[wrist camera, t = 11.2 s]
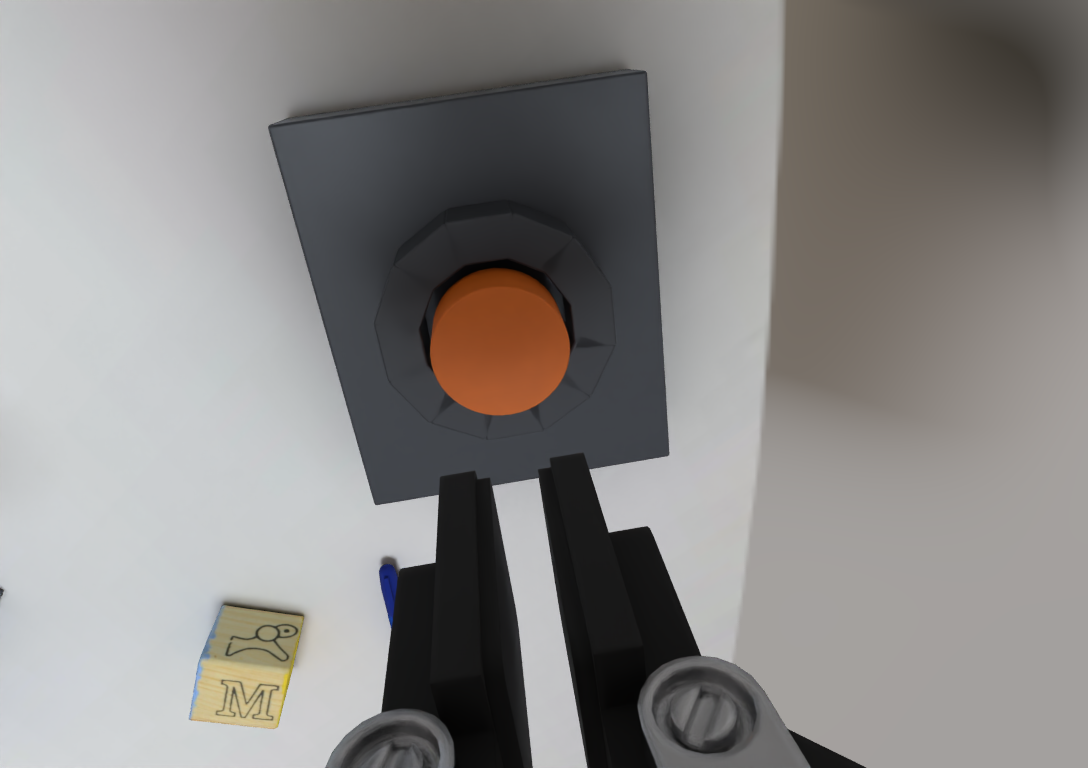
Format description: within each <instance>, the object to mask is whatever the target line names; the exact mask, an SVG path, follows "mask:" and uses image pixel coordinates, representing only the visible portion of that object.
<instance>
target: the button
mask: <svg viewBox="0 0 1088 768" xmlns="http://www.w3.org/2000/svg"><path fill="white" fill-rule="evenodd" d="M569 357H570V341H569V336H568V332H567V329H566V327H565V324H564V321H563V319H562V316H561V313H560V311H559V308H558V306H557V304H556V302H555V300H554V298H553V296H552V295H551V294H550V292H549V291H548V290H547V289H546V288H545V287H544V286H543V285H542V284H541V283H540V282H539V281H537V280H536V279H534V278H533V277H531V276H529V275H527V274H525V273H523V272H520V271H517V270H513V269H507V268H489V269H483V270H479V271H476V272H473V273H470V274H469V275H467V276H465V277H463V278H461V279H460V280H458V281H457V282H456V283H454V284H453V285H452V286H451V287H450V288H449V289H448V290H447V292H446V293H445V294H444V295H443V297H442V298H441V300H440V302H439V304H438V306H437V308H436V311H435V314H434V319H433V326H432V335H431V345H430V358H431V365H432V368H433V371H434V374H435V376H436V378H437V381H438V382H439V384H440V385H441V387H442V388H443V389H444V391H445V392H446V393H447V394H448V395H449V396H450V397H451V398H452V399H453V400H455V401H456V402H458V403H459V404H460V405H462V406H464V407H466V408H468V409H470V410H473V411H475V412H479V413H483V414H488V415H511V414H515V413H520V412H523V411H525V410H528V409H530V408H532V407H534V406H536V405H538V404H539V403H541V402H542V401H544V400H545V399H546V398H547V397H548V396H550V395H551V393H552V392H553V391H554V390H555V389H556V388H557V386H558V385H559V384H560V382H561V380H562V379H563V377H564V375H565V372H566V370H567V367H568V362H569Z"/></svg>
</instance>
